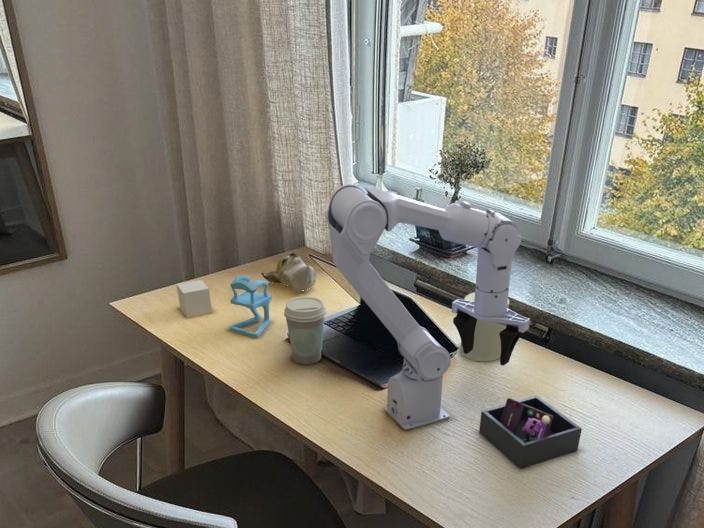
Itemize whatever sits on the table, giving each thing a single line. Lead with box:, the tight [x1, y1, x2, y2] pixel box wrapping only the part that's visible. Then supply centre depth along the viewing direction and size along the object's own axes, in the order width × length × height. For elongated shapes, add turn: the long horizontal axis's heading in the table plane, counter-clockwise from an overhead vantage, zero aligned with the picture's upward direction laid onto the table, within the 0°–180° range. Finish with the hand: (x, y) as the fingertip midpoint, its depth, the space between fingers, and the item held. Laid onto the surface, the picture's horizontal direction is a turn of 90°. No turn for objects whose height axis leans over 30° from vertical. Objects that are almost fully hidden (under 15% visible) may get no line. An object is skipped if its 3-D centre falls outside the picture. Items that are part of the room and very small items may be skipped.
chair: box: [228, 275, 273, 339], centre depth 171 cm, size 8×8×12 cm
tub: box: [478, 395, 582, 469], centre depth 134 cm, size 12×12×5 cm
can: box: [459, 291, 511, 362], centre depth 160 cm, size 9×9×12 cm
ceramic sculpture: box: [260, 252, 317, 294], centre depth 191 cm, size 11×9×15 cm
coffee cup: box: [283, 296, 327, 365], centre depth 159 cm, size 8×8×12 cm
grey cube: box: [176, 279, 213, 319], centre depth 181 cm, size 6×6×6 cm
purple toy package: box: [500, 397, 553, 439], centre depth 134 cm, size 7×5×9 cm
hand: (486, 357), depth 141 cm, fingers open, 7 cm apart
